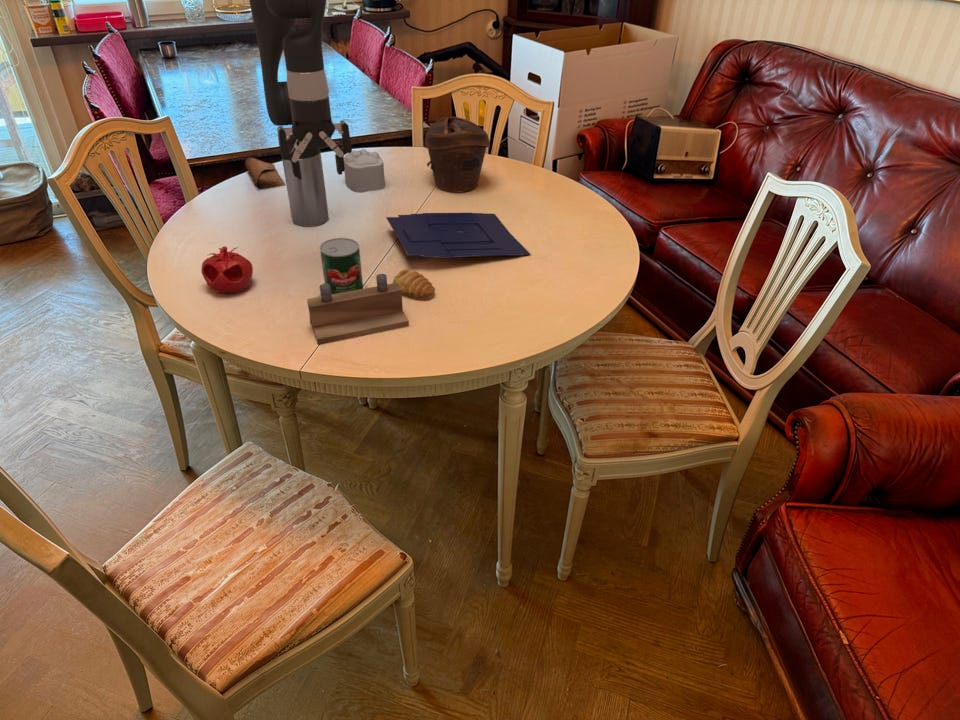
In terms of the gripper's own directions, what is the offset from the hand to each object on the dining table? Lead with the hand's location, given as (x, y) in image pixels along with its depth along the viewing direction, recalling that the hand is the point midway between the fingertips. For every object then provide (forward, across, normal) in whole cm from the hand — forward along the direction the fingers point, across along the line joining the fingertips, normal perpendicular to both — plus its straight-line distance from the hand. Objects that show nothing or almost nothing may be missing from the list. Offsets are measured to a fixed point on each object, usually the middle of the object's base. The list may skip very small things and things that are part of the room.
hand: (319, 175), depth 130 cm
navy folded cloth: (+21, -31, 0) cm, 37 cm away
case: (+20, -44, -34) cm, 59 cm away
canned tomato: (+21, 0, +14) cm, 25 cm away
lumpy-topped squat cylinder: (+20, -19, -44) cm, 51 cm away
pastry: (+21, -14, +17) cm, 31 cm away
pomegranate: (+21, +22, +2) cm, 30 cm away
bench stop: (+21, 0, +26) cm, 33 cm away
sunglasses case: (+20, +7, -57) cm, 61 cm away
